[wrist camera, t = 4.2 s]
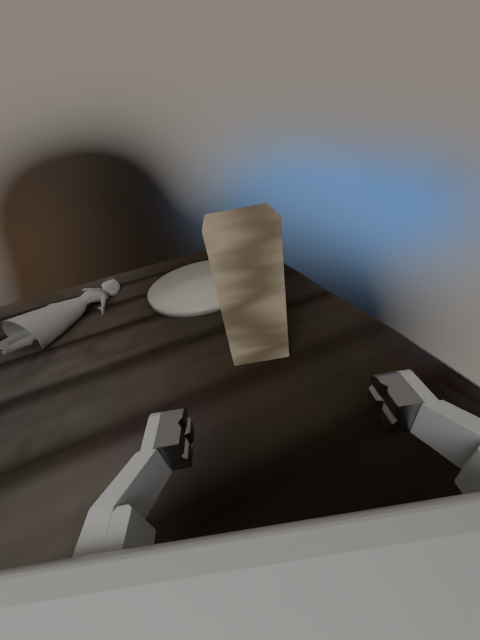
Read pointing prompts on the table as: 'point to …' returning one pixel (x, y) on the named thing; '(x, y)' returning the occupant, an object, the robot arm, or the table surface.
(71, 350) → the table surface
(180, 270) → the plate
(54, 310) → the woman figurine
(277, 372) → the table surface
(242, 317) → the maple block
